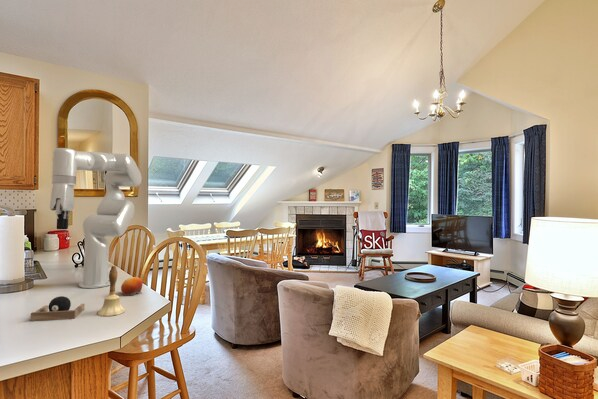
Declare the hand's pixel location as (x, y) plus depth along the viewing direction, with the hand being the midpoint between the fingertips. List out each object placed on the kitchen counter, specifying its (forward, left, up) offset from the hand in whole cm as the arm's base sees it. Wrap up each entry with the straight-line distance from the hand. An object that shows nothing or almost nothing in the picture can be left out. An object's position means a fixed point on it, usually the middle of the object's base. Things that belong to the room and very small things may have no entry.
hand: (62, 229), depth 128 cm
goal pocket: (+18, +6, -27) cm, 33 cm away
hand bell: (+18, +22, -27) cm, 39 cm away
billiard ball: (+18, +6, -27) cm, 33 cm away
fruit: (-6, +24, -27) cm, 37 cm away
